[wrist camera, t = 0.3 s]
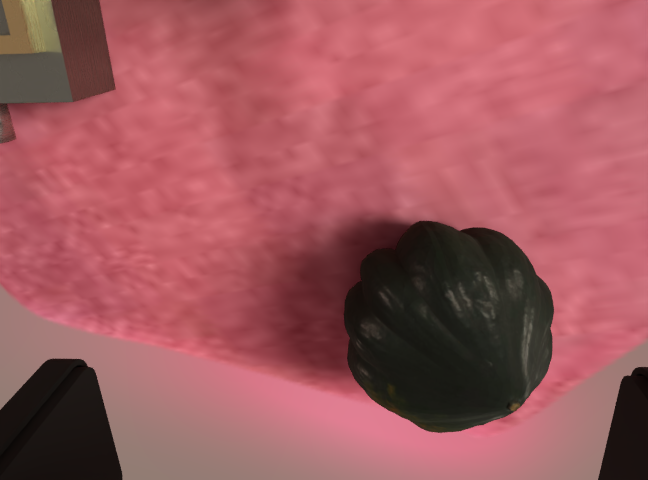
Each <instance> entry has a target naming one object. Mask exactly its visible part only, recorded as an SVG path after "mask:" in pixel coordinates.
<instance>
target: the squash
mask: <svg viewBox="0 0 648 480" xmlns="http://www.w3.org/2000/svg"><path fill="white" fill-rule="evenodd" d="M360 274H361V280H362V281H360V282H358V283H357V284H356V285H355V286H353V287H352V288H351V289H350V290H349V292H348V294H347V296H346V299H345V308H344V322H345V327H346V330H347V333H348V335H349V337H350V340H349V345H348V356H347V359H348V365H349V368H350V370H351V372H352V374H353V376H354V379H355V380H356V381H357V382H358V384H359V385H360V386H361V387H362V388H363V389H364V390H365V392H366V393H367V395H368V396H369V397H370V398H371V399H372V400H374V401H375V402H376V403H378V404H379V405H381V406H382V407H384V408H386V409H387V410H389V411H391V412H393V413H395V414H397V415H399V416H401V417H402V418H405V419H408V420H410V421H411V422H413V423H414V424H416V425H417V426H418V427H420V428H422V429H424V430H427V431H430V432H438V433H442V432H456V431H462V430H465V429H468V428H471V427H474V426H478V425H484V424H486V423H488V422H491V421H493V420H496V419H500V418H503V417H505V416H507V415H509V414H511V413H513V412H514V411H516V410H517V409H518V408H519V407H521V406H522V405H523V404H524V402H525V400H526V399H527V398H528V397H529V396H530V394H531V393H532V391H533V390H534V389H535V388H536V387H537V386H538V385H539V384H540V382H541V381H542V379H543V378H544V377H545V375H546V373H547V371H548V368H549V364H550V361H551V358H552V333H551V329H550V327H551V324H552V320H553V314H554V307H553V300H552V295H551V292H550V290H549V288H548V286H547V285H546V283H545V282H544V281H543V280H542V279H541V278H540V277H538V276H537V275H536V273H535V270H534V268H533V266H532V264H531V262H530V261H529V259H528V257H527V256H526V255H525V253H524V252H523V251H522V250H521V249H520V248H519V247H518V246H517V245H516V244H515V243H514V242H513V241H512V240H511V239H509V238H508V237H507V236H505V235H504V234H502V233H500V232H497V231H494V230H491V229H487V228H474V227H473V228H468V229H463V230H461V231H458V230H456V229H454V228H452V227H450V226H447V225H444V224H441V223H438V222H432V221H419V222H416V223H415V224H413V225H412V226H411V227H410V228H409V229H408V230H407V231H406V232H405V233H404V235H403V236H402V237H401V239H400V240H399V243H398V245H397V247H396V250H394V249H377V250H375V251H373V252H372V253H370V254H369V255H367V257H366V258H365V259H364V260H363V261H362V263H361V268H360Z"/></svg>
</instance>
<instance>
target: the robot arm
mask: <svg viewBox="0 0 648 480" xmlns="http://www.w3.org/2000/svg"><path fill="white" fill-rule="evenodd" d="M0 480H122V471H121V467H120V464H119V460H118V456H117V452H116V448H115V445H114V441H113V437H112V433H111V429H110V425H109V422H108V418H107V414H106V410H105V406H104V403H103V399H102V395H101V391H100V387H99V384H98V380H97V376H96V373H95V371H94V369H93V368H90V367H88V366H87V364H86V363H85V361H84V360H81V359H50V360H47V361H46V362H45V363H43V364H42V366H41V367H40V368H39V369H38V370H37V371H36V372H35V373H34V374H33V375H32V376H31V377H30V379H29V380H28V381H27V382H26V383H25V384H24V385H23V386H22V387H21V388H20V389H19V391H17V393H16V394H15V395H14V396H13V397H12V398H11V399H10V400H9V401H8V402H7V403H6V404H5V405H4V407H3V408H2V409H1V410H0ZM598 480H648V367H638V368H635V369H634V370H633V372H632V374H631V376H624V378H623V379H622V381H621V384H620V389H619V393H618V397H617V402H616V406H615V410H614V414H613V419H612V423H611V427H610V431H609V436H608V440H607V444H606V448H605V453H604V457H603V461H602V466H601V470H600V474H599V478H598Z"/></svg>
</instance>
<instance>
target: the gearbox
mask: <svg viewBox="0 0 648 480" xmlns="http://www.w3.org/2000/svg"><path fill="white" fill-rule="evenodd" d="M111 90H115V84H114V79H113V73H112V68H111V62H110V57H109V52H108V46H107V41H106V35H105V30H104V25H103V19H102V14H101V8H100V3H99V0H0V143H4V142H9V141H12V140H15V139H16V135H15V131H14V128H13V124H12V120H11V117H10V113H9V109H8V105H7V103H45V102H75V101H78V100H81V99H85V98H88V97H91V96H95V95H98V94H101V93H105V92H108V91H111Z"/></svg>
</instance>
